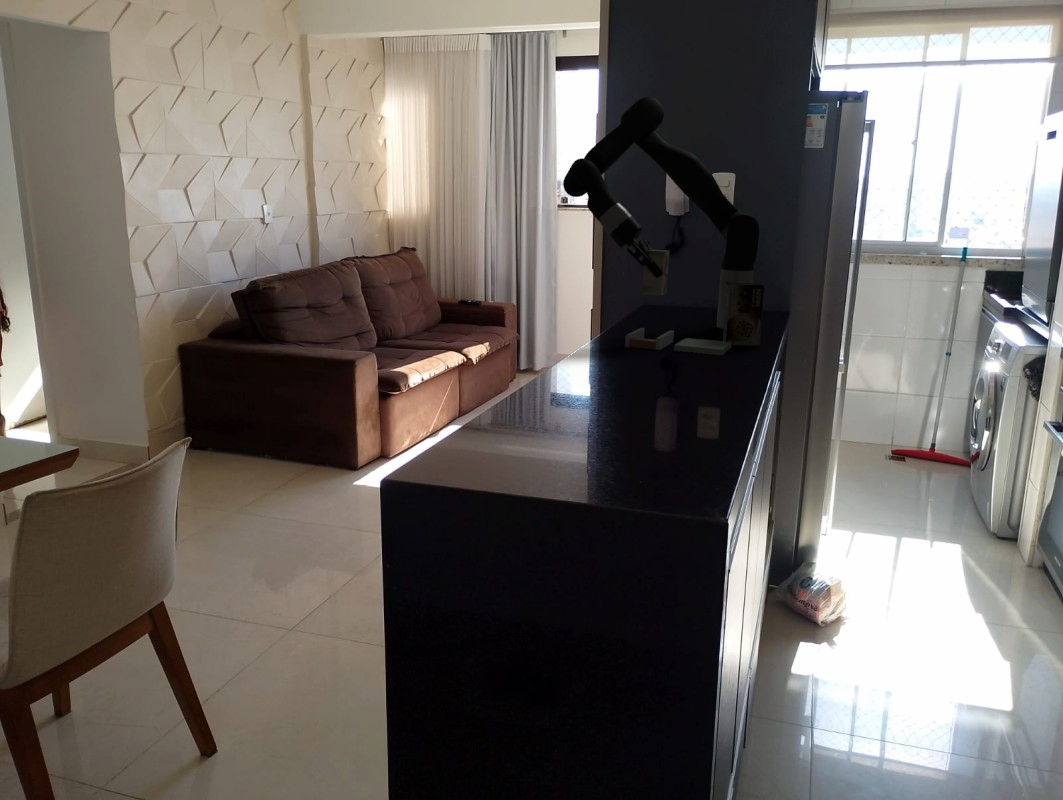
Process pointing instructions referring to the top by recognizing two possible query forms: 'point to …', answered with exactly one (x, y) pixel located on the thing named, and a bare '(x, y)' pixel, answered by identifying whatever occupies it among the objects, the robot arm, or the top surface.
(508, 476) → the top surface
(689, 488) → the top surface
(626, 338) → the grey frame
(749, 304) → the coffee box
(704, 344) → the pad
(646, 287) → the birch block
